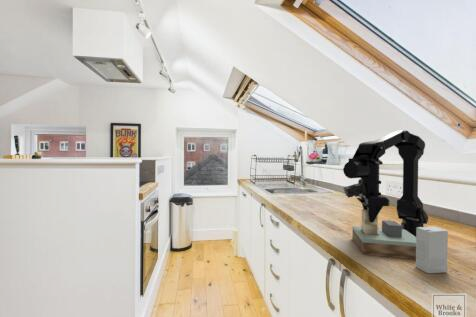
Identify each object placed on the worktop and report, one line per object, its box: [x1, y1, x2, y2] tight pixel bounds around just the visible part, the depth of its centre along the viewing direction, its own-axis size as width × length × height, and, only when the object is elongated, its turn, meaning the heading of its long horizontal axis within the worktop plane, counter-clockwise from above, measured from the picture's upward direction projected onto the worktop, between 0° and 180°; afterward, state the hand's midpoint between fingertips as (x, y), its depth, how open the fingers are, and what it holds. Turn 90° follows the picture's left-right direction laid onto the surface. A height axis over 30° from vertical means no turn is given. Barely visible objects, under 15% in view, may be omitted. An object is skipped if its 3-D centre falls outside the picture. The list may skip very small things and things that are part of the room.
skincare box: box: [415, 226, 449, 274], centre depth 66 cm, size 6×4×12 cm
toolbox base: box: [351, 229, 416, 260], centre depth 81 cm, size 18×14×4 cm
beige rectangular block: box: [361, 208, 379, 235], centre depth 82 cm, size 4×4×8 cm
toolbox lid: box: [351, 220, 416, 247], centre depth 81 cm, size 18×14×5 cm
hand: (369, 220), depth 82 cm, fingers closed on beige rectangular block, 4 cm apart
